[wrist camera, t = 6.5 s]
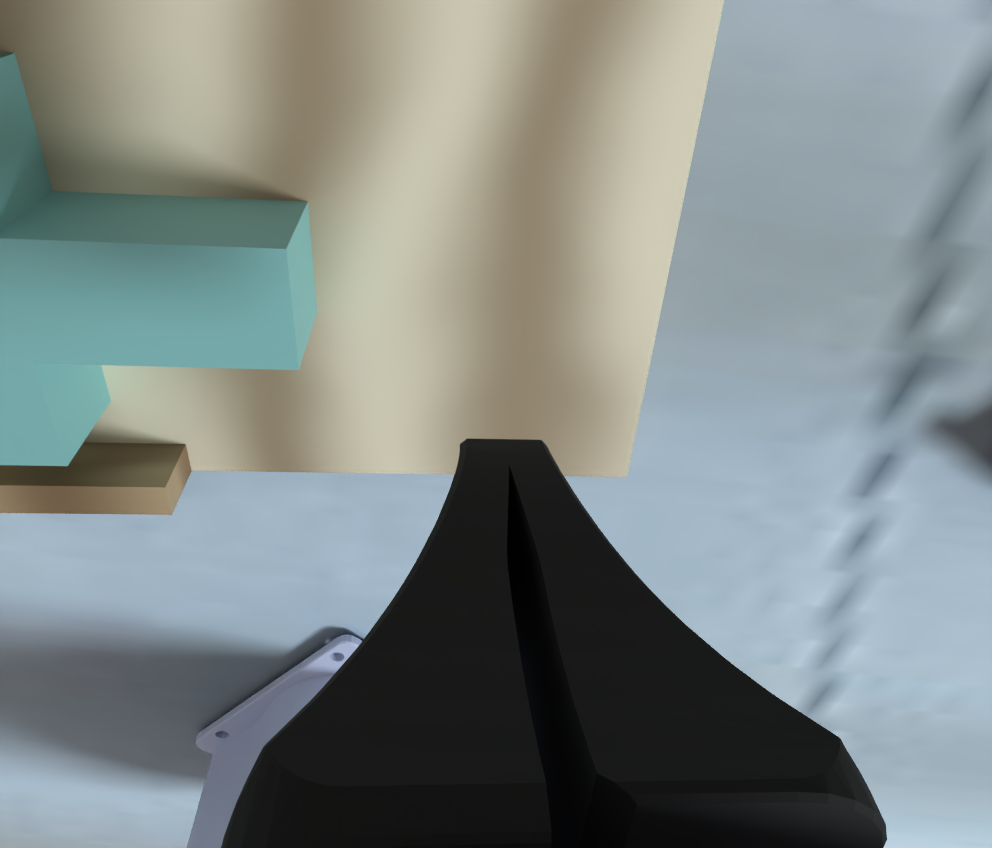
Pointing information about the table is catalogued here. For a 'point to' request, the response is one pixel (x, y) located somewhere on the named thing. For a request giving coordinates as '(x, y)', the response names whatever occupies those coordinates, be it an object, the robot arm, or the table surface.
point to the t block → (130, 289)
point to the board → (384, 220)
